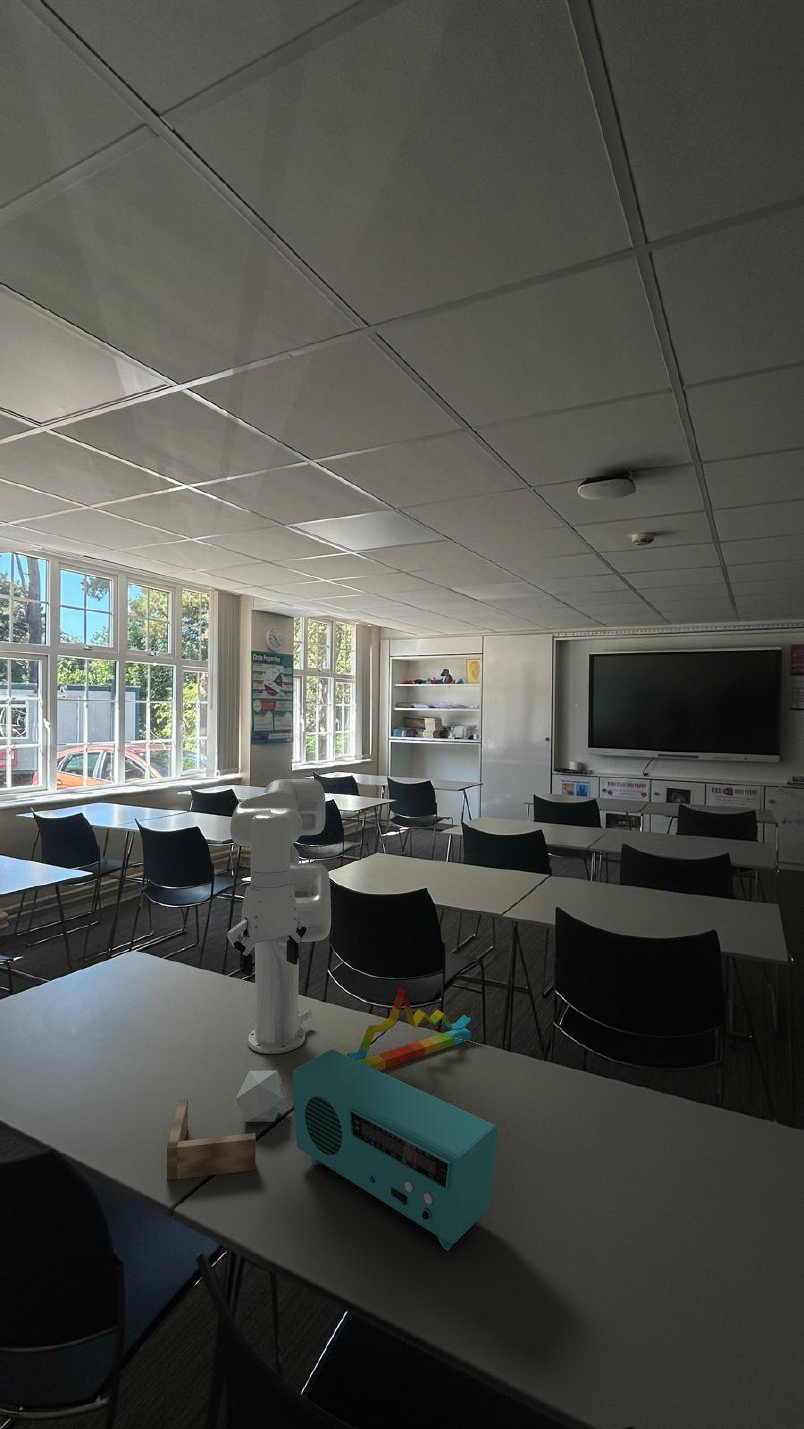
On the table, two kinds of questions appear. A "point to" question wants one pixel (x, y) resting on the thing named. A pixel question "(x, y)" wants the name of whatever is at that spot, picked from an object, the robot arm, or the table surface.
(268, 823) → the robot arm
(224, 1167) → the bracket
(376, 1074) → the radio
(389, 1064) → the chart
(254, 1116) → the die
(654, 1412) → the table surface
